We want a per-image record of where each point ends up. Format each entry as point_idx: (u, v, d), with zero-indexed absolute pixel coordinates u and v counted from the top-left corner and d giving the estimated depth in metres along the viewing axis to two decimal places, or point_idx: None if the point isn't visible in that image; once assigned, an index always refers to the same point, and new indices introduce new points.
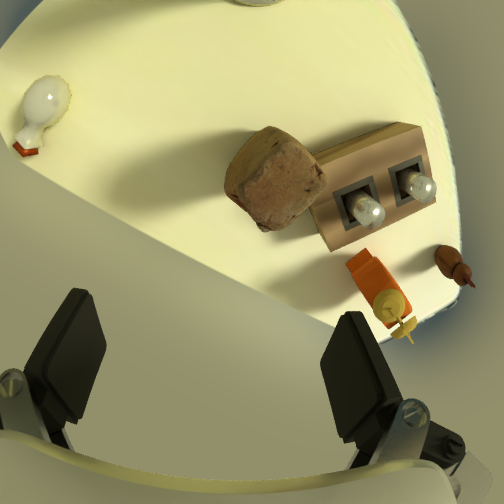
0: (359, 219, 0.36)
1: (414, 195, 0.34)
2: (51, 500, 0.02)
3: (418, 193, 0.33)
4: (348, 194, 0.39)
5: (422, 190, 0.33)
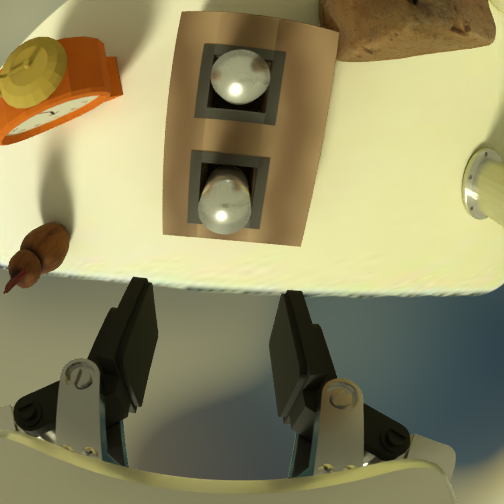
0: None
1: (222, 181, 0.20)
2: (51, 500, 0.02)
3: (230, 187, 0.19)
4: None
5: (231, 200, 0.20)
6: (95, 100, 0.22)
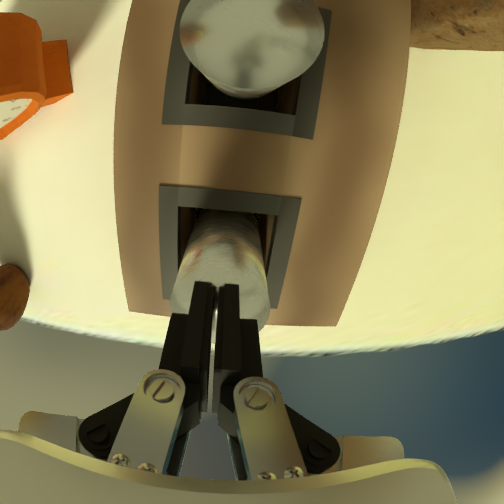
0: None
1: (214, 255, 0.10)
2: (51, 500, 0.02)
3: (229, 274, 0.10)
4: None
5: None
6: (31, 104, 0.12)
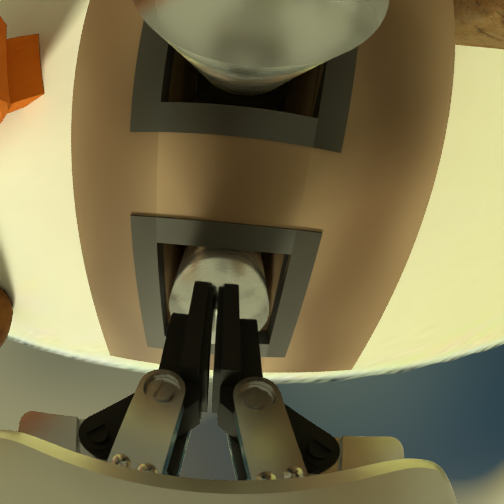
0: None
1: (213, 256, 0.10)
2: (51, 500, 0.02)
3: (228, 275, 0.10)
4: None
5: None
6: None
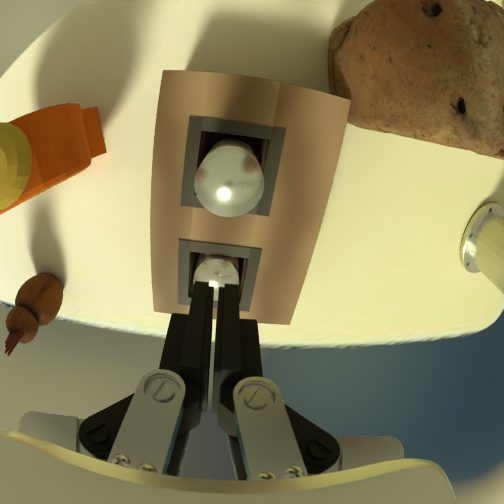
0: (237, 150, 0.15)
1: (214, 258, 0.24)
2: (51, 500, 0.02)
3: (221, 266, 0.23)
4: None
5: (221, 275, 0.23)
6: None
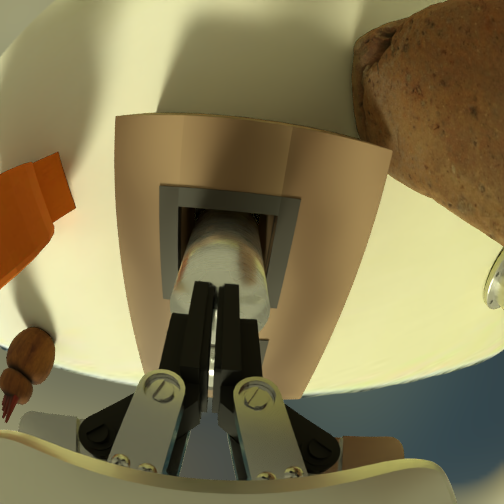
0: (228, 264, 0.10)
1: (211, 348, 0.19)
2: (51, 500, 0.02)
3: None
4: (257, 230, 0.15)
5: None
6: None
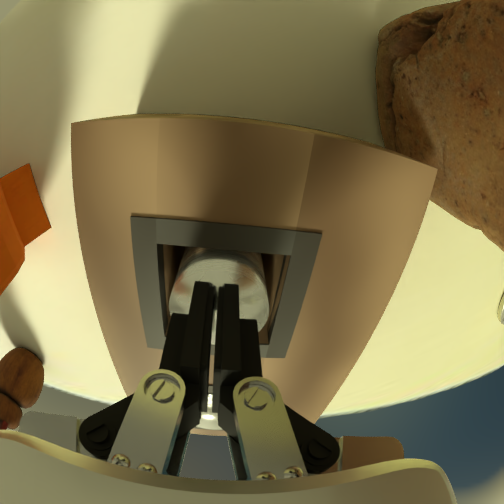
0: (227, 265, 0.10)
1: None
2: (51, 500, 0.02)
3: None
4: None
5: None
6: None
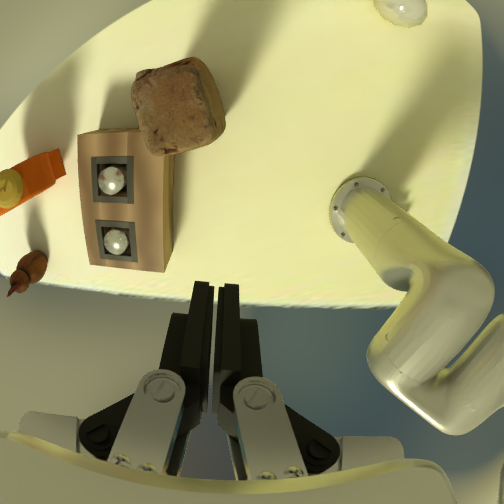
0: (111, 167, 0.33)
1: (113, 229, 0.39)
2: (51, 500, 0.02)
3: (115, 233, 0.38)
4: None
5: (116, 238, 0.38)
6: None
